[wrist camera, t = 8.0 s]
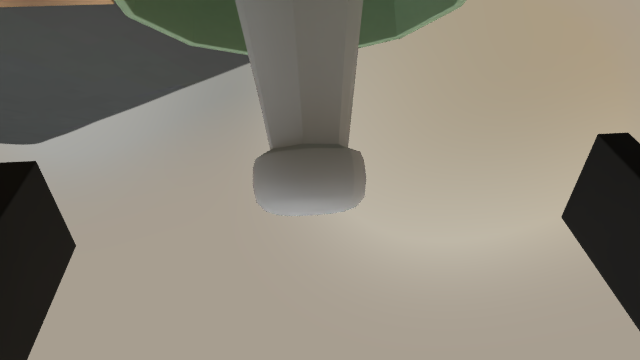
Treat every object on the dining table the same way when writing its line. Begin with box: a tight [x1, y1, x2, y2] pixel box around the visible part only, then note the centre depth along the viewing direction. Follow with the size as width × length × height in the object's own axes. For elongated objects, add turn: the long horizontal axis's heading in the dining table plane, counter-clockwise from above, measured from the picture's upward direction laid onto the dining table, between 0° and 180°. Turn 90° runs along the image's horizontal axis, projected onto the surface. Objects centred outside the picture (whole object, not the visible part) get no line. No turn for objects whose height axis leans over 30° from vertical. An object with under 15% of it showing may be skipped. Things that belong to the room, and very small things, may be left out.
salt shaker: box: [235, 0, 366, 216], centre depth 19 cm, size 6×6×13 cm
